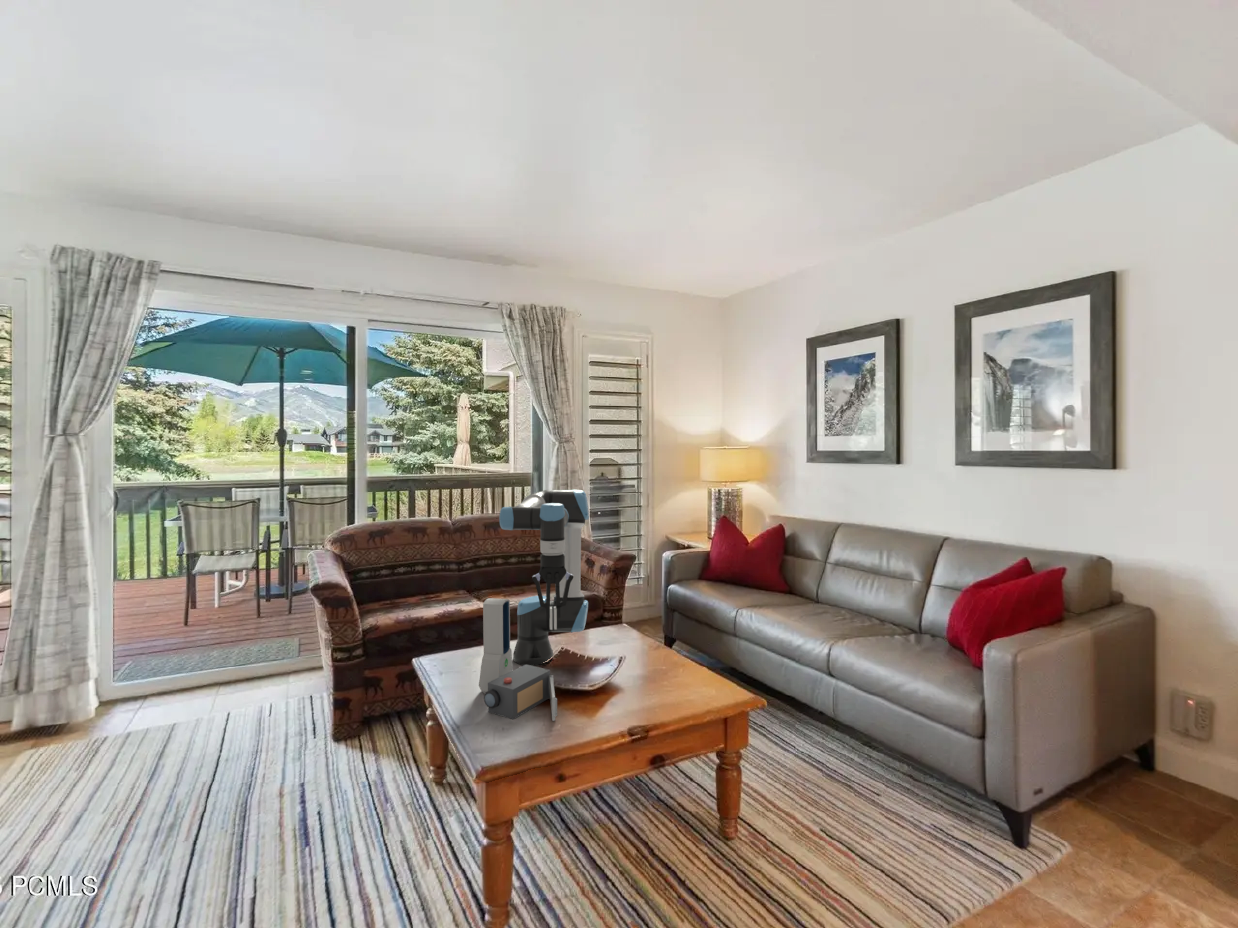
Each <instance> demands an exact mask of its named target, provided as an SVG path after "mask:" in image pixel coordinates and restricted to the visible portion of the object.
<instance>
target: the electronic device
mask: <svg viewBox="0 0 1238 928" xmlns="http://www.w3.org/2000/svg"><path fill="white" fill-rule="evenodd" d="M510 606H511V601H510V599H508V598H493V597H491V598H486V599H485V600H484V602H483V603H482V610H483V612H482V614H483V615H482V618H483V619H482V620H483V621H482V624H483V625H482V627H483V629H482V631H483V632H482V633H483V637H482V638H483V654H482V658H481V664H480V672H479V681H478V687H479V689H480V690H481V692H482V694H485V693H486V692H487V691H488V682H490V681H492V680H495V679H497V678H499V677H501V676H503V675H505V674H507V673H509V672H511V671H513V670H514V669H513V651H512V648H511V616H510V615H511V611H510V610H511V609H510V608H511V607H510Z"/></svg>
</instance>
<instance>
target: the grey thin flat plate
mask: <svg viewBox="0 0 1238 928" xmlns="http://www.w3.org/2000/svg"><path fill="white" fill-rule="evenodd" d="M554 677H555V675H554V674H550V676H549V700H550V702H549V703H550V710H551V712H550V713H551V720H552V722H555V721H556V717H557V716H558V697H556V693H555V682H554V681H555V679H554Z"/></svg>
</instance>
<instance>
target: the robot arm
mask: <svg viewBox="0 0 1238 928" xmlns="http://www.w3.org/2000/svg"><path fill="white" fill-rule="evenodd" d="M589 511H590V510H589V503H588V497H587V494H586V492H585V491H584V490H582V489H544V490H540V491H536V492H533V493H531V494H529V495H527V496H525V497H524V498H523V500H522V502H521V503H519V504H517V505H516V506H502V507H501V509H500V511H499V517H498V518H499V519H498V520H499V526H500V528H501V529H502V530H505V531H521V530H522V531H525V530H527V531H529V530H530V531H531V530H533V531H540V540H539V541H540V542H539V543H540V544H539V545H540V546H539V547H540V548H539V549H540V553H541V554H540V568H539V570H538V573H536V574H533V575H532V576H531V577H532V578H531V579H532V581H533V583H534V584H535V588H536V593H537V595H532V596H529V597H525V598H523V599H521V600H520V601H519V602H518V604H517V612H516V615H517V616H516V617H517V641H516V643H515V647H514V651H513V652H512V661H513V662H514V663H516V664H518V665H521V666H524V665H526V664H527V665H531V666H538V665H537V664H540V665H542V664H541V663H543V662H545V661H547V660H548V659H550V658H551V657H552V656H553V657H554V651H553V649H552V645H551V641H550V638H549V633H579V632H582V631H584V629H585V628H586V627H585V626H586V623H587V617H588V611H589V601H588V600H587V599H585V595H584V593H583V592H582V591H581V588H582V585H581V574H582V571H581V569H582V561H581V560H582V529H583V527H585V526H586V521H587V520H589V518H590V514H589V513H590V512H589ZM541 579H542V580H543V581H544V582H545V589H546V590H545V595H543V593H542V589H541V588H542V586H541V584H540V580H541ZM552 584H555V585H554V586H555V587H554V588H555V589H554V590H555V594H554V595H553V600H551V587H552V586H551V585H552Z"/></svg>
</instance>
